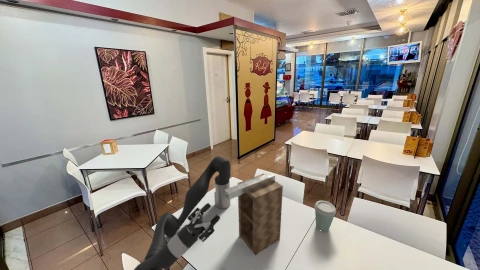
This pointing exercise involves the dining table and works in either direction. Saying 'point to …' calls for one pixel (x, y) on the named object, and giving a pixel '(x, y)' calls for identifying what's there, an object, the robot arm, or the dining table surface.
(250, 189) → the metal bar
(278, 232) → the walnut shelf
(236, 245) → the dining table surface
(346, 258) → the dining table surface
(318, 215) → the disposable coffee cup
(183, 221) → the robot arm
